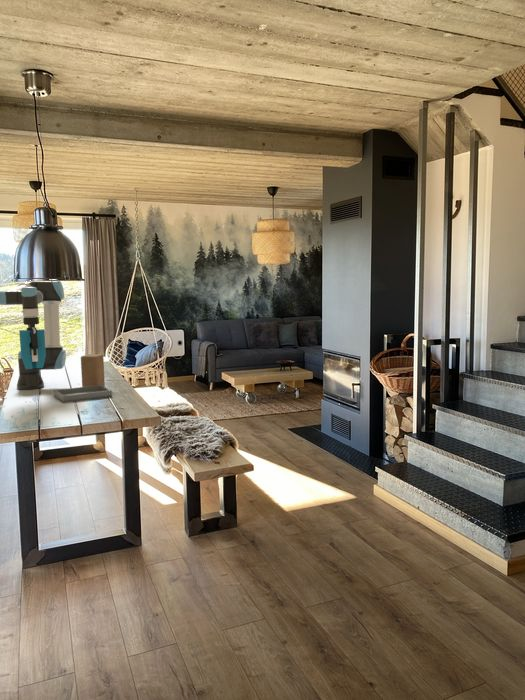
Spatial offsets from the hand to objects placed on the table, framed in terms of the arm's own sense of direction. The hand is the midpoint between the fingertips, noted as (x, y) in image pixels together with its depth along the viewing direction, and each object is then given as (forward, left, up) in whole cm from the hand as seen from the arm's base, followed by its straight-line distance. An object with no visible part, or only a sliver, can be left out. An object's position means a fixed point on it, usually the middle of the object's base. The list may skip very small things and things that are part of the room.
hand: (33, 360), depth 294 cm
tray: (+2, +24, -22) cm, 33 cm away
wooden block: (-18, +36, -22) cm, 46 cm away
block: (0, 0, -4) cm, 4 cm away
